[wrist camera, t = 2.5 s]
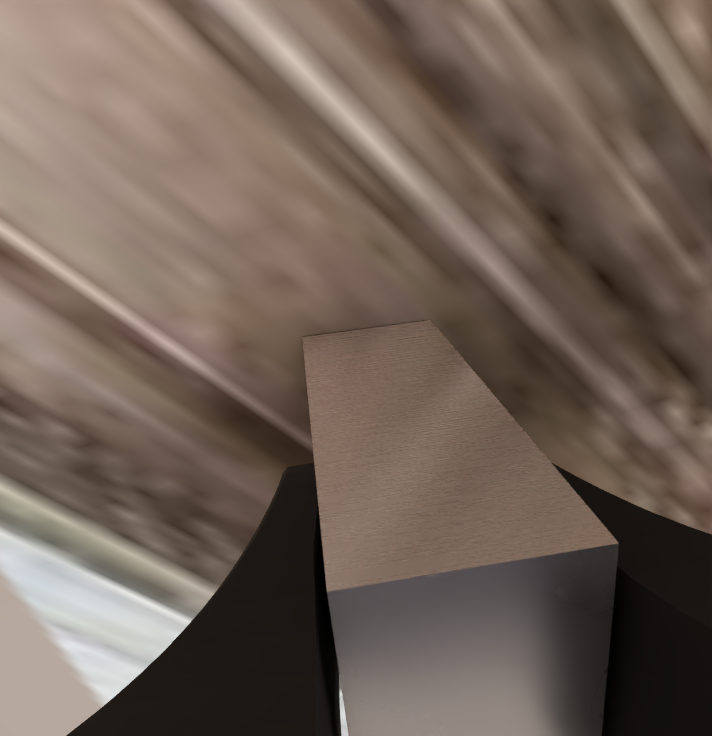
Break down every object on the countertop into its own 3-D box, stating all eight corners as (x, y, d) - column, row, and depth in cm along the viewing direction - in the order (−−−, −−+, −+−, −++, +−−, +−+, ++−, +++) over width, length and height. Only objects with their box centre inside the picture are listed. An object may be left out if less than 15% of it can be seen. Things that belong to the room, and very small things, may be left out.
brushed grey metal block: (430, 320, 13) (619, 543, 6) (440, 500, 15) (592, 843, 8) (302, 337, 13) (327, 591, 6) (327, 517, 15) (372, 888, 7)
